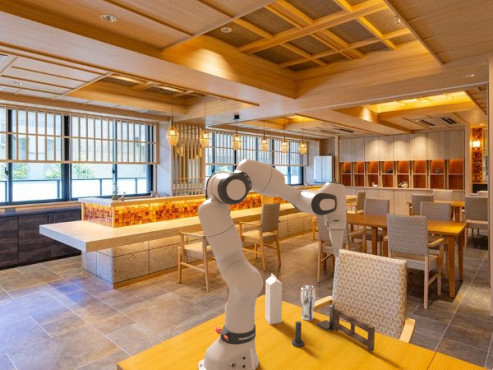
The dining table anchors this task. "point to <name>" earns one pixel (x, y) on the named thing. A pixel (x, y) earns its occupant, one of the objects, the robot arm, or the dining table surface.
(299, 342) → the post
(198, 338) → the dining table surface
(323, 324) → the hinge post
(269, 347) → the dining table surface
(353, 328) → the gate
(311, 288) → the beer glass
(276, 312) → the milk
